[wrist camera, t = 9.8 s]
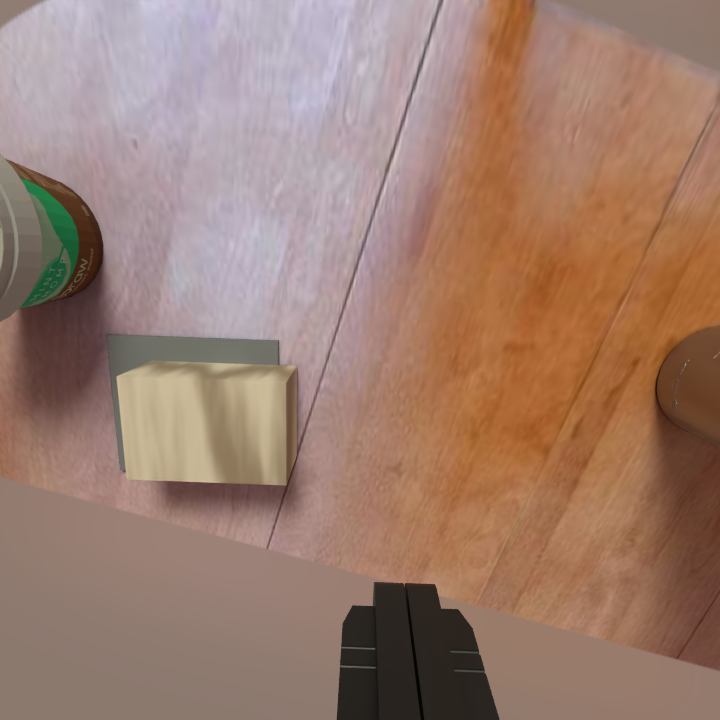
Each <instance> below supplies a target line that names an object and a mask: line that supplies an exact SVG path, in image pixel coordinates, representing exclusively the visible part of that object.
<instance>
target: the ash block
mask: <svg viewBox="0 0 720 720" xmlns="http://www.w3.org/2000/svg"><path fill="white" fill-rule="evenodd" d="M117 387H118V397H119V407H120V417H121V427H122V437H123V447H124V457H125V468H126V478H127V479H129V480H155V481H182V482H209V483H235V484H262V485H287V482H288V480H289V477H290V474H291V471H292V468H293V465H294V463H295V460H296V457H297V366H283V365H256V364H229V363H202V362H175V361H150V362H148V363H145V364H143V365H141V366H139V367H137V368H134V369H132V370H130V371H128V372H125V373H123V374H121V375H119V376H117Z"/></svg>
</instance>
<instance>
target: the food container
mask: <svg viewBox="0 0 720 720" xmlns="http://www.w3.org/2000/svg"><path fill="white" fill-rule="evenodd" d="M102 257H103V241H102V235H101V231H100V228H99V225H98V223H97V221H96V219H95V217H94V214H93V213H92V211H91V210H90V208H89V207H88V205H87V204H86V203H85V202H84V201H83V200H82V198H81V197H80V196H79V195H77V194H76V193H75V192H74V191H73V190H72V189H70V188H69V187H67V186H66V185H64V184H63V183H61V182H58V181H56V180H54V179H51V178H49V177H47V176H44V175H42V174H40V173H37V172H35V171H33V170H30V169H28V168H26V167H23V166H21V165H19V164H16V163H14V162H12V161H9V160H7V159H5V158H4V157H3V156H2V155H1V154H0V322H1V321H3V320H4V319H6V318H8V317H9V316H11V315H12V314H13V313H14V312H15V311H16V310H17V309H21V308H26V307H30V306H34V305H38V304H42V303H46V302H51V301H55V300H59V299H63V298H67V297H71V296H73V295H75V294H77V293H78V292H80V291H82V290H84V289H86V288H87V287H88V285H89V284H90V283H91V282H92V281H93V280H94V279H95V277H96V275H97V273H98V272H99V269H100V266H101V263H102Z"/></svg>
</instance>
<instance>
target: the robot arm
mask: <svg viewBox="0 0 720 720" xmlns="http://www.w3.org/2000/svg"><path fill="white" fill-rule="evenodd" d="M657 395H658V401H659V404H660V406H661V409H662V411H663V412H664V414H665V415H666V416H667V418H668V419H669V420H670V421H672V422H673V423H674V424H675V425H677V426H679V427H681V428H682V429H684V430H686V431H688V432H690V433H692V434H694V435H696V436H698V437H700V438H702V439H704V440H706V441H707V442H709V443H711V444H713V445H715V446H717V447H718V448H720V326H715V327H709V328H706V329H703V330H700V331H698V332H696V333H694V334H692V335H690V336H689V337H687V338H685V339H684V340H683V341H682V342H680V343H679V344H678V345H677V346H676V347H675V348H674V349H673V350H672V352H671V353H670V354H669V355H668V356H667V358H666V360H665V362H664V364H663V365H662V367H661V370H660V373H659V377H658V383H657ZM337 720H499V716H498V713H497V710H496V706H495V703H494V699H493V696H492V693H491V689H490V686H489V683H488V680H487V676H486V674H485V671H484V666H483V662H482V659H481V656H480V655H479V649H478V646H477V642H476V639H475V636H474V632H473V629H472V627H471V626H470V624H469V623H468V622H467V621H466V619H465V618H464V616H463V615H462V614H461V613H460V611H459V610H458V609H441V607H440V602H439V597H438V593H437V589H436V586H435V584H415V583H405V587H404V584H403V583H384V582H374V593H373V606H352V608H351V609H350V611H349V613H348V615H347V617H346V619H345V620H344V622H343V628H342V645H341V660H340V678H339V693H338V710H337Z"/></svg>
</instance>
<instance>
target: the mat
mask: <svg viewBox="0 0 720 720" xmlns="http://www.w3.org/2000/svg"><path fill="white" fill-rule="evenodd" d="M106 338H107V348H108V358H109V367H110V377H111V387H112V397H113V406H114V416H115V426H116V436H117V445H118V455H119V465H120V470H126V468H125V457H124V447H123V437H122V427H121V417H120V407H119V397H118V387H117V376H119V375H121V374H123V373H125V372H128V371H130V370H132V369H134V368H137V367H139V366H141V365H143V364H145V363H148V362H150V361H175V362H202V363H229V364H256V365H279V341H277V340H250V339H223V338H195V337H168V336H141V335H114V334H109V335H106Z"/></svg>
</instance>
